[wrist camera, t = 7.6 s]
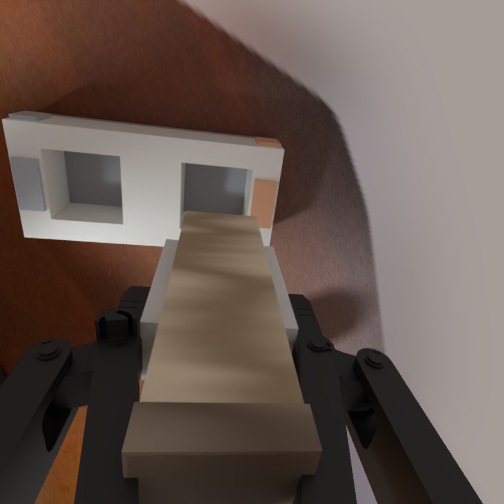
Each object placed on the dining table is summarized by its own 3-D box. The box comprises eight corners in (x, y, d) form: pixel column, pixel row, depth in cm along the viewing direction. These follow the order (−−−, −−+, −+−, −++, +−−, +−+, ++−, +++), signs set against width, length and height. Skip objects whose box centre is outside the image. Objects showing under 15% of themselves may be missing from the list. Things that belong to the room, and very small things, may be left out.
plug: (181, 273, 21) (129, 554, 9) (184, 208, 19) (121, 451, 7) (249, 277, 22) (289, 547, 9) (258, 214, 20) (322, 450, 7)
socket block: (50, 214, 32) (22, 238, 28) (34, 107, 28) (-2, 114, 23) (261, 230, 35) (268, 254, 30) (275, 135, 31) (285, 146, 26)
